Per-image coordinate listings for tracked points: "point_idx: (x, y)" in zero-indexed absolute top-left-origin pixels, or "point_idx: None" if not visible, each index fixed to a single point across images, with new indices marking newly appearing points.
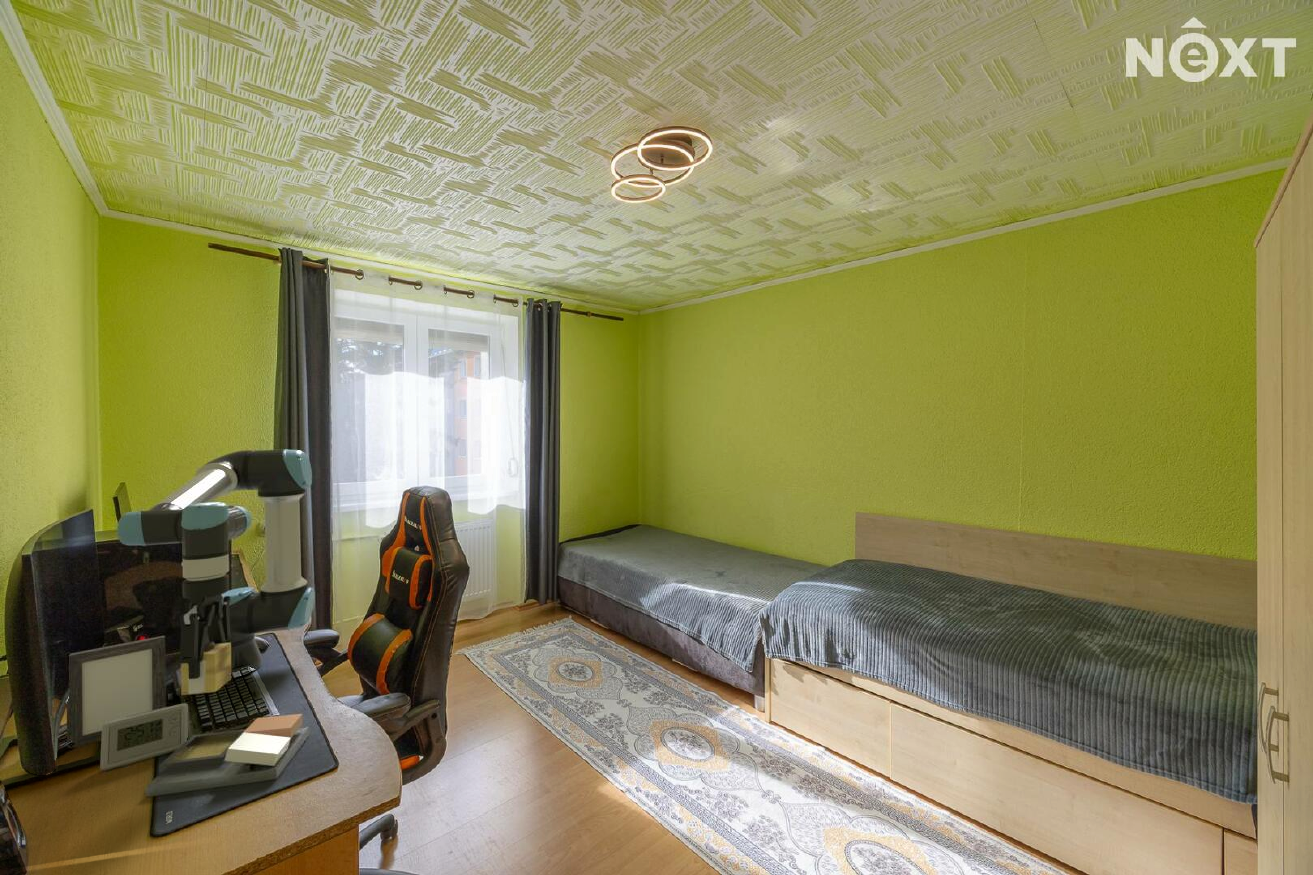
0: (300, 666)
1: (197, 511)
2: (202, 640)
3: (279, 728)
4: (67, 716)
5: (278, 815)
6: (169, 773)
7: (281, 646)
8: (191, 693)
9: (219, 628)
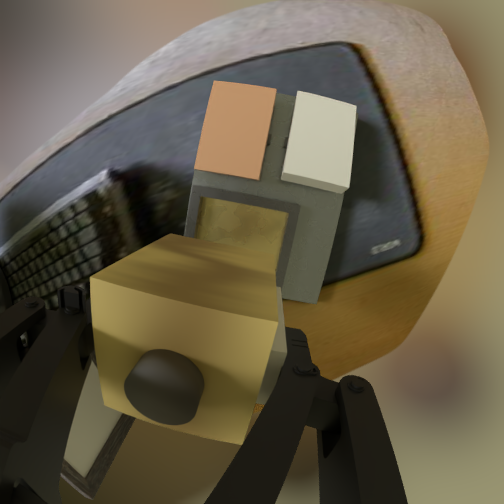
0: None
1: None
2: (295, 452)
3: (271, 109)
4: (123, 439)
5: (438, 112)
6: (288, 284)
7: None
8: None
9: (48, 390)
